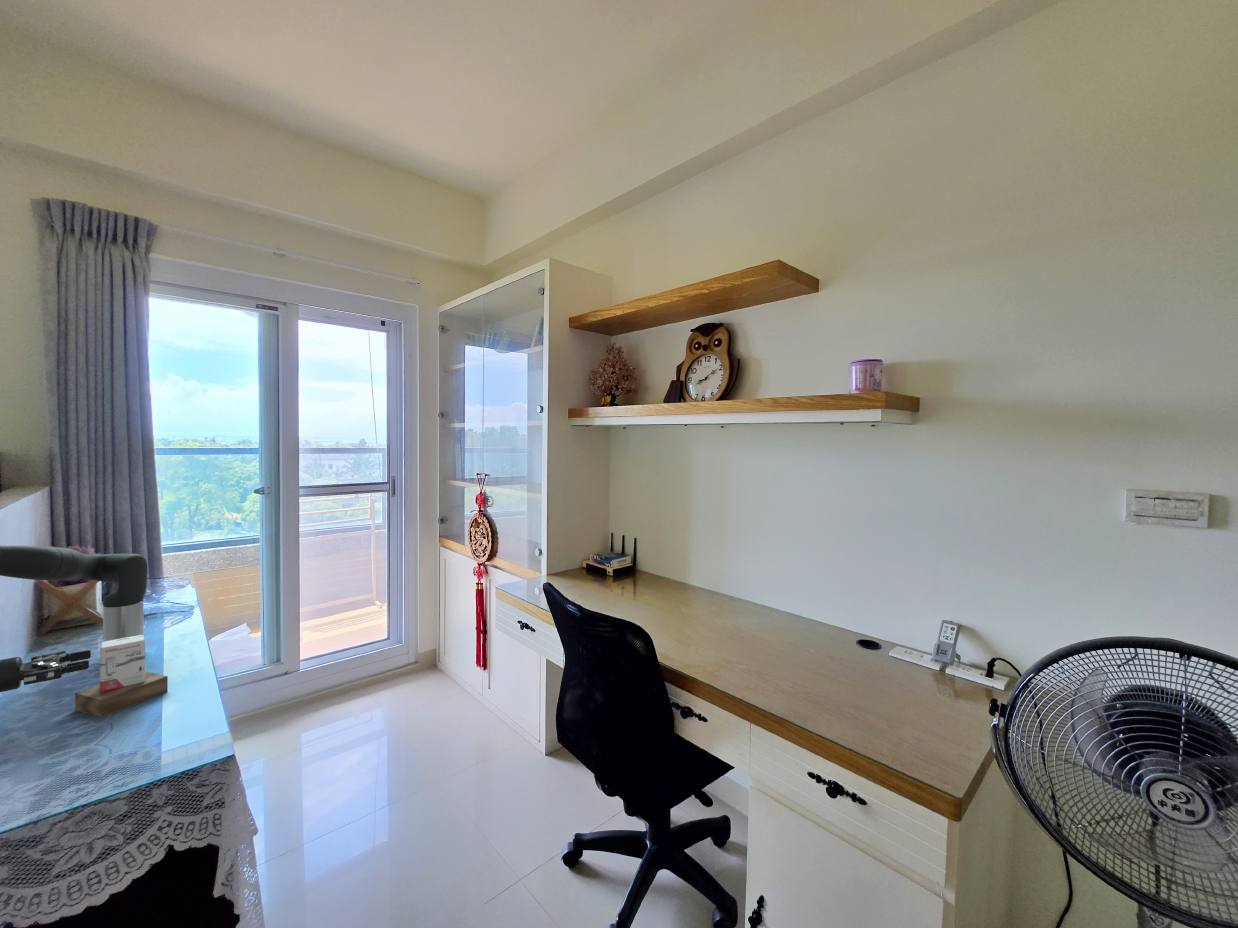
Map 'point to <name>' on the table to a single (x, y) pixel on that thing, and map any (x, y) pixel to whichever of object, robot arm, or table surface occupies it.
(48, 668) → the robot arm
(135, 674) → the ink box
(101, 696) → the walnut block
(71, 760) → the table surface
